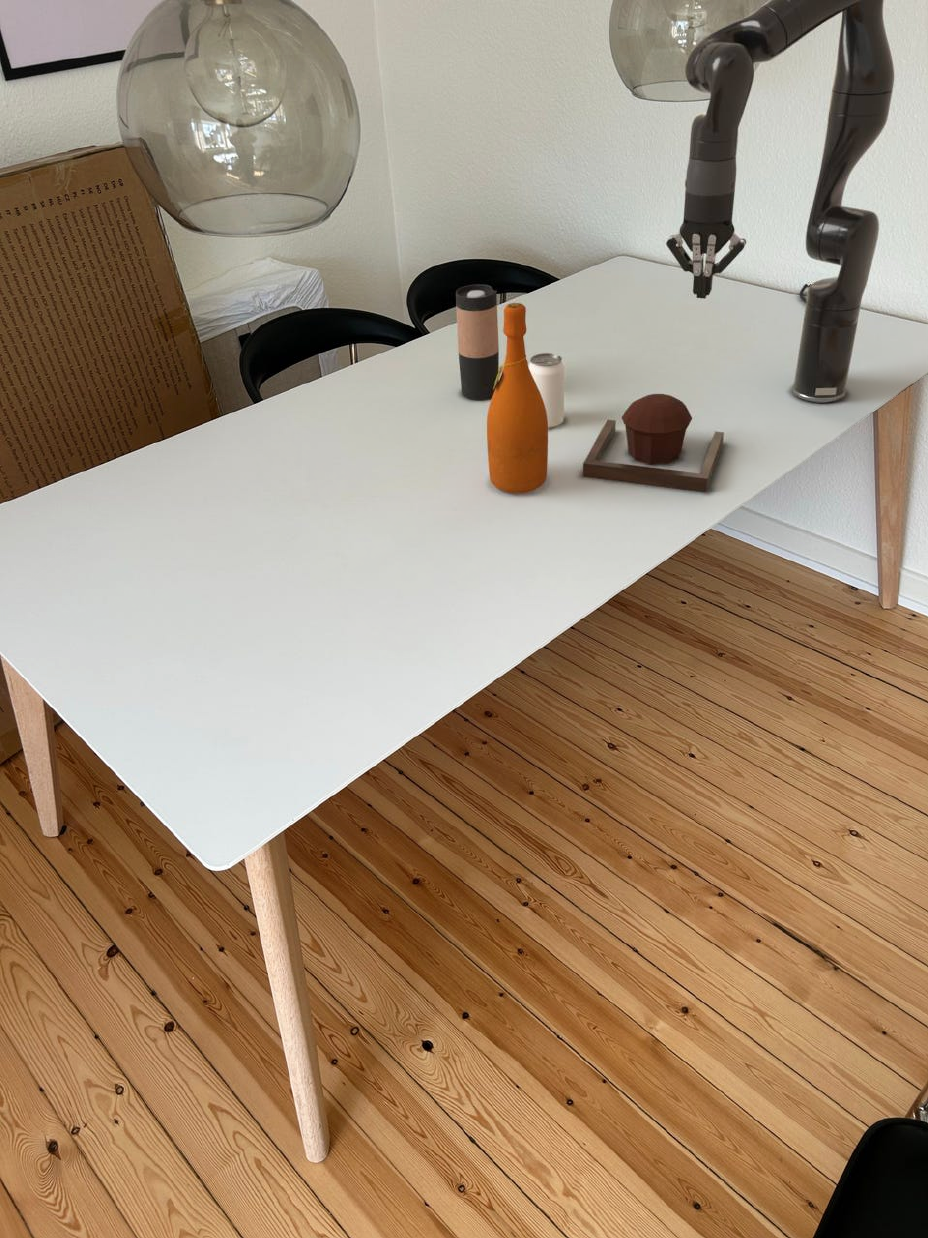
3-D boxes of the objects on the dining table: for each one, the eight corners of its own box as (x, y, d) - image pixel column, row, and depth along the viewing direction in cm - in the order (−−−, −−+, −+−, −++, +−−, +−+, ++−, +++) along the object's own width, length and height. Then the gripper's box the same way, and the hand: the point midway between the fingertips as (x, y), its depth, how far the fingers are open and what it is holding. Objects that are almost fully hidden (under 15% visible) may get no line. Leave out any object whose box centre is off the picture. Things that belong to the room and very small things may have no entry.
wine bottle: (517, 462, 175) (513, 288, 157) (560, 480, 169) (561, 301, 151) (476, 483, 170) (468, 306, 152) (520, 503, 164) (516, 321, 146)
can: (561, 429, 184) (561, 366, 177) (526, 428, 185) (525, 365, 178) (565, 414, 189) (566, 352, 182) (531, 413, 190) (530, 351, 183)
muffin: (671, 433, 181) (675, 380, 175) (701, 460, 172) (706, 405, 166) (609, 445, 178) (611, 391, 172) (636, 473, 170) (639, 418, 164)
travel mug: (454, 398, 197) (448, 296, 185) (469, 382, 203) (464, 282, 191) (491, 403, 195) (488, 299, 183) (505, 387, 200) (502, 285, 188)
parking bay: (607, 432, 182) (607, 419, 181) (722, 445, 176) (724, 432, 175) (582, 476, 170) (583, 463, 168) (706, 492, 164) (707, 478, 162)
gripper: (757, 181, 159) (745, 291, 169) (672, 178, 163) (666, 286, 174) (750, 195, 153) (738, 307, 164) (662, 191, 158) (657, 301, 168)
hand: (701, 296), depth 169 cm, fingers closed
